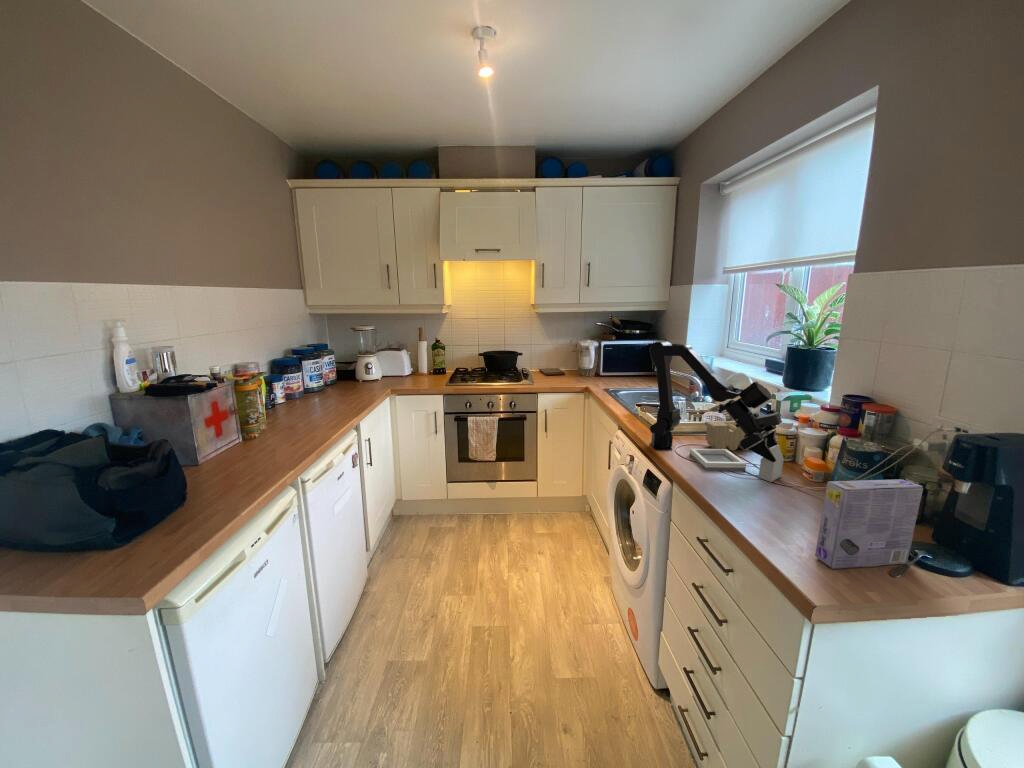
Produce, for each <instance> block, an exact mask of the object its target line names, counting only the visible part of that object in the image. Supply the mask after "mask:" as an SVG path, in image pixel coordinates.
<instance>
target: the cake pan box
mask: <svg viewBox="0 0 1024 768" xmlns="http://www.w3.org/2000/svg"><path fill="white" fill-rule="evenodd" d="M923 487H924V486H923V485H920V484H918V483H914V482H911V481H909V480H905V479H902V478H901V479H870V480H869V479H863V480H861V479H860V480H837V481H836V480H833V481H832V480H831V481H830V480H829V481H827V482H826V488H825V493H824V499H823V500H824V501H823V506H822V507H823V508H822V510H821V511H822V513H821V519H820V523H819V530H818V535H817V536H818V537H817V543H816V548H815V553H814V556H815V557H816V558H817V559H818V560H819V561H821V562H823V564H825V565H826V566H827V567H829V568H830V569H831V570H837V569H846V568H847V569H849V568H860V569H861V568H874V567H876V568H877V567H880V566H889V565H890V566H891V565H907V564H908V559H909V556H910V552H911V551H910V550H911V547H912V543H913V539H914V534H915V533H914V532H915V527H916V522H917V519H918V518H917V517H918V514H919V510H920V505H921V500H922V496H923V492H924V491H923V490H924V488H923ZM906 563H907V564H906Z"/></svg>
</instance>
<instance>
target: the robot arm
mask: <svg viewBox="0 0 1024 768" xmlns="http://www.w3.org/2000/svg"><path fill="white" fill-rule="evenodd" d="M649 355H650V358H651V361H652V362H653V365H654V366H655V370H656V371H655V372H656V381H657V390H658V401H659V403H658V404H659V407H658V410H657V414H656V421H655V422H654V423H653V424H652V425H650V426H649V430H650V434H651V442H649V445H650V447H652V449H653V450H655V451H673V448H672V447H673V438H674V437H673V432H672V431H674V430H675V428H676V427H678V426H679V424H681V423H680V421H681V420H682V416H681V409H680V408H676V406H675V404H674V395H673V387H672V376H671V367H670V366H671V363H672V359H673V357H681V359H682V360H683V361H684V362H685V363H686V364H687V365H688V367H690V368H691V369H692V371H693V373H695V374H696V375H697V376H698V377H699V378H700V380H701V381H702V382H703V384H704V386H705V388H706V391H707V393H708V394H709V396H710V397H711V399H712V400H713V401H715V402H719V403H720V404H718V406H719V408H718V411H717V412H718V413H719V414H721V413H722V412H724V411H725V412H726V413H727V414H728V415H729V417H730V418H731V419H732V420H733V421H734V423H735V424H734V426H736V427H737V428H738V427H740V428H741V430H742V431H743V432H744V433H745V436H744V437H745V438H743V439H742V440H741V441H740V446H741V447H742V448H743V449H742V451H745V449H747V448H748V449H747V450H746V451H750V452H753V453H755V454H757V455H758V456H760V457H762V458H763V457H764V458H766V459H768V460H769V461H771V462H775V461H776V459H775V457H774V455H773V454H772V452H771V451H770V449H769V448H771V447H773V446H776V445H779V443H778V441H777V440H776V433H777V427H778V426H779V425H780V424H781V423H783V421H782V418H781V417H782V414H781V413H780V412H779V411H776V410H775V409H774V408H773V409H769V410H767V411H766V414H763V415H759V414H758V413H756V412H754V413H753V412H752V411H751V408H752V409H758V407H760V406H762V405H763V404H765V403H767V402H768V401H770V400H771V399H773V395H772V393H771V392H770V390H768V388H767V387H765V386H764V385H762V384H760V383H759V382H758V381H757V380H755V381H754V382H752V383H751V384H750V385H749V386H747V387H746V388H744V389H741V388H739V387H735V386H734V385H733V384H732V383H730V382H729V381H728V380H727V379H725V378H723V377H722V376H720V375H718V374H717V373H715V371H714V370H713V369H712V368H711V367H710V366H709V365H708V364H707V363H706V362H705V361H704V359H703V358H702V357H701V356H700V355H699V354H698V353H697V352H696V351H695V350H694V348H693V346H692V345H690V344H687V343H685V344H680V343H679V344H678V343H671V342H670V341H667V340H662V341H655V342H653V343H652V344H651V345H650V346H649ZM738 397H739V398H738ZM736 398H738V399H737V400H735V399H736ZM728 400H729V401H728ZM723 402H724V403H723ZM725 402H726V403H725ZM781 453H782V451H781ZM782 454H783V453H782Z"/></svg>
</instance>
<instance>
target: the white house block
mask: <svg viewBox="0 0 1024 768" xmlns="http://www.w3.org/2000/svg"><path fill="white" fill-rule="evenodd" d="M769 449H770V451H771V452H772V454H773V455H774V457H775V459H776V461H775V462H771V461H769V460H768V459H766V458H764V457H762V458H761V459H760V465H759V471H758V472H759V473H758V478H759V479H760V480H761V479H762V480H765V481H767V482H770V483H772V482H773V481H775V480H777V479H779V478H781V477H782V472H783V466H784V456H783V453H781V452H782V450H781V445H780V444H778V445H776V446H773V447H771V448H769Z"/></svg>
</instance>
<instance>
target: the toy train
mask: <svg viewBox="0 0 1024 768" xmlns="http://www.w3.org/2000/svg"><path fill="white" fill-rule="evenodd" d="M704 426H705V427H706V432H705V433H706V434H705V441H707V445H708V446H709V447H711V448H712V449H727V450H729V451H736V450H737V449H738V448H740V449H741V450H743V448H742V447H741V446H740V441H741V440H742V439H743V438H745V437H744V436H745V433H744V432H743V431H742V430H741V428H740V427H738V428H737V427H736V426H735V424H732V423H729V422H728V423H727V424H726V423H725V422H723V421H720V420H714V421H712V420H711V421H710V420H709V421H707V420H706V421H704ZM747 449H748V448H747ZM747 449H745V450H744V451H748V450H747Z"/></svg>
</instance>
